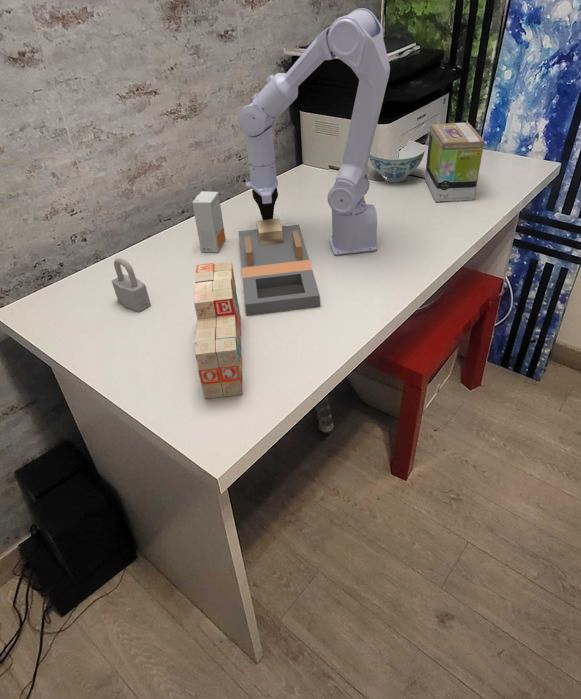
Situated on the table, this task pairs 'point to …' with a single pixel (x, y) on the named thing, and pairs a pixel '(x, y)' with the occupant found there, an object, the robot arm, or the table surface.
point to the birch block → (270, 231)
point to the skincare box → (209, 221)
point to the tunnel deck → (277, 273)
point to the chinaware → (400, 162)
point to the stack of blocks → (218, 330)
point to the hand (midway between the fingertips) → (267, 220)
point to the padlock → (129, 287)
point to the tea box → (453, 161)
